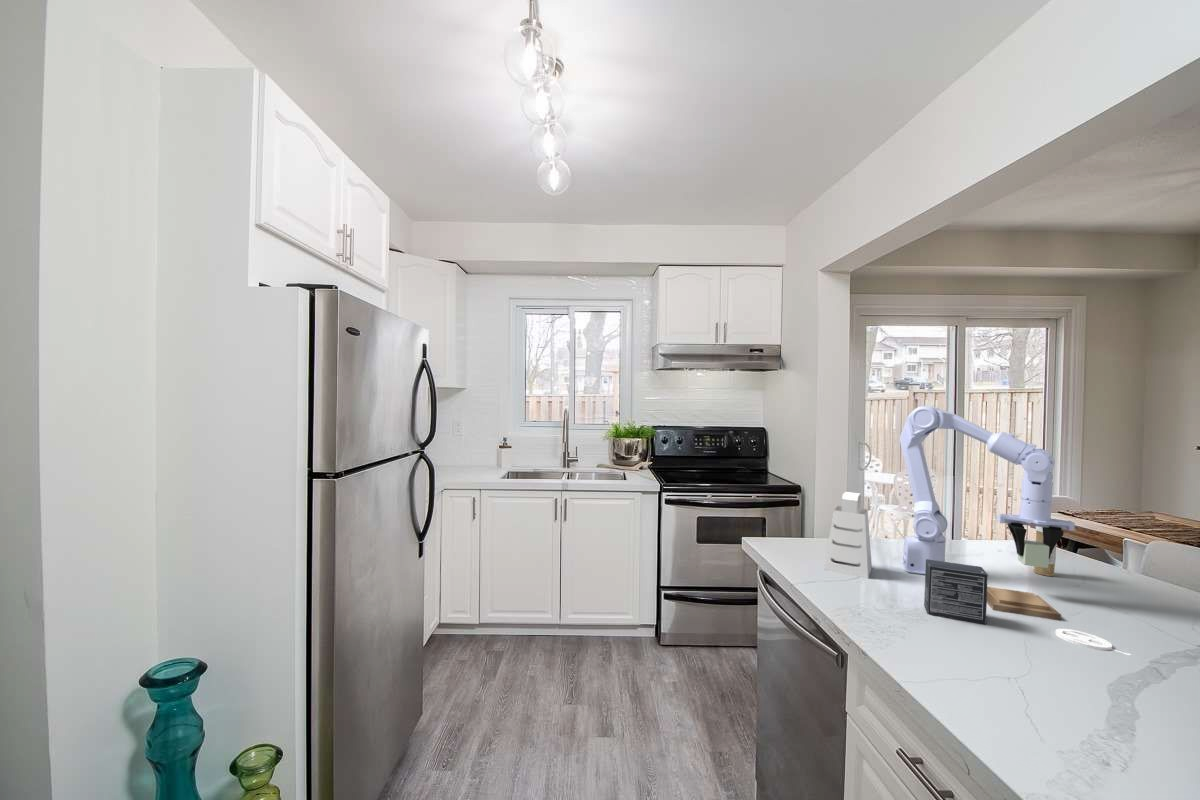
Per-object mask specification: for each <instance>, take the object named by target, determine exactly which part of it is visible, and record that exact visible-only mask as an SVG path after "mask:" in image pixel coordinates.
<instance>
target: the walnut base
mask: <svg viewBox="0 0 1200 800" xmlns="http://www.w3.org/2000/svg"><path fill="white" fill-rule="evenodd" d="M987 606H989V607H990V608H991V609H992V610H993V611H999V612H1005V613H1011V614H1017V615H1018V614H1019V615H1024V616H1031V617H1037V618H1043V619H1050V620H1057V621H1061V620H1062V614H1061V613H1060V612H1059V611H1058V610H1056V609H1055V608H1054V607H1053V606H1051V605H1050V604H1049V603H1048V602H1047V601H1045V600H1044V599H1043V598H1042V597H1041V596H1040V595H1038V594H1035V593H1034V592H1027V591H1021V590H1013V589H1007V588H1000V587H999V588H998V587H992V586H987Z"/></svg>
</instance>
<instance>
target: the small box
mask: <svg viewBox="0 0 1200 800" xmlns="http://www.w3.org/2000/svg"><path fill="white" fill-rule="evenodd" d="M924 575H925V576H924V577H925V578H924V598H923V599H924V601H923V606H924V609H925V612H926V614H927V615H931V616H935V617H942V618H946V619H953V620H957V621H958V620H959V621H965V622H970V623H976V624H980V625H987V624H988V620H987V606H988V604H987V587H988V577H989V574H988V573H987V571H986V570H985V569H984V568H983V567H982V566H979V565H972V564H965V563H964V564H963V563H955V562H949V561H945V562H943V561H936V560H929V559H926V571H925V574H924Z"/></svg>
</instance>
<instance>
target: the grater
mask: <svg viewBox="0 0 1200 800" xmlns="http://www.w3.org/2000/svg"><path fill="white" fill-rule="evenodd" d="M861 497H862V495H861V493H859V492H850V491H845V492H844V493H842V496H841V506H840V505H838V506H837V507H835V508H834V510H833V513H832V520H831V524H830V525H831V526H830V530H829V531H830V532H829V535H828V536H829V537H828V541H827V548H826V554H825V560H824V565H823V570H824V571H826V572H827V571H828V572H831V573H838V574H843V575H848V576H853V577H858V578H864V579H869V576H870V574H871V571H872V569H873V568H872V567H873V566H872V554H871V553H872V551H871V549H872V548H871V536H870V525H869V510H868V509H863V508H861V502H862V501H861ZM836 562H839V563H836ZM842 563H845V564H842ZM849 564H850V565H849ZM854 565H855V566H854Z"/></svg>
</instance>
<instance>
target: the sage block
mask: <svg viewBox="0 0 1200 800" xmlns="http://www.w3.org/2000/svg"><path fill="white" fill-rule="evenodd" d="M1017 560H1018V561H1019V562H1020V563H1021V564H1022V565H1025V566H1030V567H1034V566H1036V567H1044V568H1048V563H1049V546H1047V545H1046V544H1044V543H1042V542H1036V540H1035V541H1034V540H1026V539H1025V540H1024V555H1023V556H1020V555H1018V554H1017Z"/></svg>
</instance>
